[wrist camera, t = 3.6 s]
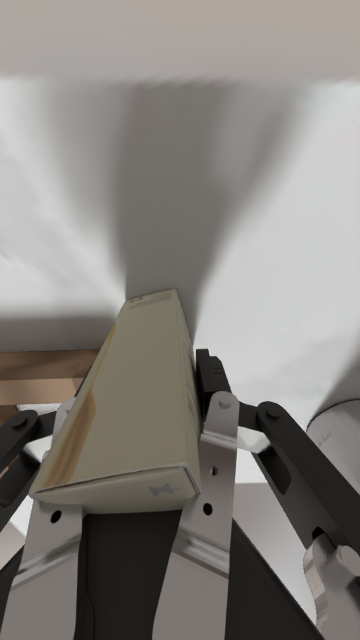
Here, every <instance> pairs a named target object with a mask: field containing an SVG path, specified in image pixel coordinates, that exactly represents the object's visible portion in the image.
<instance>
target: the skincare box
mask: <svg viewBox="0 0 360 640" xmlns="http://www.w3.org/2000/svg"><path fill="white" fill-rule="evenodd" d="M204 427H205V423H203V418H202V411H201V405H200V398H199V392H198V385H197V378H196V365H195V359H194V352H193V347H192V343H191V338H190V334H189V331H188V327H187V323H186V320H185V316H184V313H183V310H182V306H181V303H180V300H179V297H178V294H177V291H176V289H171V290H167V291H162V292H158V293H153V294H149V295H145V296H141V297H138V298H135V299H131V300H128V301H125V302H124V304H123V306H122V308H121V310H120V312H119V314H118V316H117V318H116V320H115V322H114V324H113V326H112V328H111V330H110V332H109V334H108V336H107V338H106V340H105V342H104V344H103V346H102V348H101V350H100V352H99V354H98V356H97V358H96V360H95V362H94V364H93V366H92V368H91V369H90V371H89V373H88V375H87V377H86V379H85V381H84V383H83V385H82V387H81V389H80V391H79V393H78V395H77V397H76V399H75V401H74V403H73V405H72V407H71V409H70V411H69V413H68V415H67V417H66V419H65V421H64V423H63V425H62V427H61V429H60V431H59V433H58V435H57V437H56V439H55V441H54V443H53V445H52V447H51V449H50V451H49V453H48V455H47V457H46V459H45V461H44V463H43V465H42V467H41V468H40V470H39V472H38V474H37V476H36V478H35V480H34V482H33V484H32V485H31V488H30V490H29V493H28V495H29V496H30V498H32V499H34V500H35V501H37V502H40V501H44V502H47V503H55V504H82V505H83V507H84V508H85V510H86V512H87V514H108V513H136V512H155V511H170V510H179V509H183V506H184V502H185V498H191V497H193V496H194V495H195V494H196V493H201V492H202V488H201V477H200V467H199V457H198V445H199V441H200V437H201V434H202V433H203V431H204Z"/></svg>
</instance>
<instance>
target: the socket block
mask: <svg viewBox="0 0 360 640" xmlns="http://www.w3.org/2000/svg"><path fill="white" fill-rule="evenodd" d="M99 352H100V350H72V351H39V352H6V353H0V427H1V426H2V425H3V424H4V423H5V422H6V421H7V420H8V419H9V418H11V417H12V416H14V415H15V414H17V413H19V411H18V409H17V408H16V406H15V405H21V404H49V403H63V402H65V401H66V400H68V399H70V398H73V397H74V395H75V393H76V392H77V390H78V388H79V386H80V384H81V383H82V381H83V379H84V378H85V375H86V374H87V372H88V370H89V368H90V366H91V365H92V364H93V363H94V362H95V360H96V358H97V356H98V354H99ZM16 459H17V457H15V458H14V459H13V460H12V461H11V463H10V464H9V465H8V466H7V467H6V468H5V469H4V471H3V472H2V473H1V474H0V478H1V477H2V476H3V475H4V473H5V472H6V471H7V470H8V469H9V468H10V466H11V465H12V464H13V463H14V462H15V461H16Z"/></svg>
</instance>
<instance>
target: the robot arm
mask: <svg viewBox="0 0 360 640" xmlns="http://www.w3.org/2000/svg"><path fill="white" fill-rule="evenodd" d="M93 364H94V363H93ZM93 364H92V365H91V366H90V368H89V370H88V372H87V374H86V375H85V378H84V379H83V381H82V383H81V384H80V386H79V388H78V390H77V392H76V393H75V395H74V397H73V398H70V399H68V400H66V401H65V402H63V403H62V404H61V405H60V406H59V408H58V410H57V411H54V412H51V413H47V414H44V415H41V416H39V415H38V413H37V412H36V411H34V410H25V411H22V412H19V413H17V414H15V415H14V416H12V417H11V418H9V419H8V420H7V421H6V422H5V423H4V424H3V425H2V426H1V427H0V474H1V473H2V472H3V471H4V469H5V468H6V467H7V466H8V465H9V464H10V463H11V461H12V460H13V459H14V458H15V457H17V459H16V461H15V462H14V463H13V464H12V465H11V466H10V468H9V469H8V470H7V471H6V472H5V473H4V475H3V476H2V477H1V478H0V532H1V531H2V529H3V528H4V526H5V525H6V524H7V522H8V521H9V520H10V518H11V517H12V515H13V514H14V513H15V511H16V510H17V508H18V507H19V506H20V504H21V503H22V501H23V500H24V499H25V497H26V496H27V495H28V493H29V490H30V488H31V485H32V484H33V482H34V480H35V478H36V476H37V474H38V472H39V470H40V468H41V467H42V465H43V463H44V461H45V459H46V457H47V455H48V453H49V451H50V449H51V447H52V445H53V443H54V441H55V439H56V437H57V435H58V433H59V431H60V429H61V427H62V425H63V423H64V421H65V419H66V417H67V415H68V413H69V411H70V409H71V407H72V405H73V403H74V401H75V399H76V397H77V395H78V393H79V391H80V389H81V387H82V385H83V383H84V381H85V379H86V377H87V375H88V373H89V371H90V369H91V368H92V366H93ZM196 378H197V385H198V392H199V398H200V405H201V411H202V418H203V423H205V427H204V431H203V433H202V434H201V437H200V441H199V445H198V457H199V467H200V477H201V488H202V492H201V493H196V494H195V495H194V496H193V497H191V498H185V502H184V506H183V509H179V510H170V511H155V512H136V513H108V514H87V512H86V510H85V508H84V507H83V505H82V504H55V503H47V502H44V501H40V502H37V501H35V500H34V501H33V506H32V511H31V516H30V521H29V526H28V531H27V536H26V541H25V544H24V545H23V546H22V548H21V549H20V550H19V551H18V552H17V553H16V554H15V555H14V556H13V557H12V558H11V560H9V561H8V563H7V564H6V565H5V566H4V567H3V568H2V569H1V570H0V640H360V400H355V401H349V402H345V403H342V404H339V405H336V406H334V407H332V408H330V409H328V410H326V411H325V412H323V413H322V414H320V415H319V416H318V417H317V418H315V420H314V421H313V422H312V423H311V424H310V426H309V428H308V430H307V434H306V433H305V432H304V431H303V430H302V428H301V427H300V426H299V425H298V424H297V423H296V422H295V420H294V419H293V418H292V417H291V416H290V415H289V414H288V412H287V411H286V410H285V409H284V408H283V407H282V406H280V405H279V404H277V403H274V402H270V401H265V402H262V403H260V404H259V405H258V407H256V406H251V405H247V404H244V403H242V402H240V401H239V400H238V399H237V397H236V396H235V395H233V394H232V392H231V389H230V386H229V383H228V380H227V377H226V374H225V371H224V369H223V365H222V362H221V361H220V360H219V359H218V358H217V357H216V356H211V357H210V355H209V351H208V349H196ZM237 448H241V449H244V450H247V451H250V452H251V454H252V455H253V457H254V459H255V461H256V462H257V464H258V466H259V468H260V469H261V471H262V473H263V475H264V476H265V478H266V480H267V482H268V484H269V485H270V487H271V489H272V490H273V492H274V494H275V496H276V498H277V499H278V501H279V503H280V505H281V506H282V508H283V510H284V512H285V513H286V515H287V517H288V518H289V520H290V522H291V524H292V526H293V528H294V529H295V531H296V533H297V534H298V536H299V538H300V540H301V542H302V543H303V545H304V547H305V548H306V552H305V554H304V558H303V569H304V574H305V577H306V581H307V583H308V585H309V587H310V590H311V592H312V595H313V598H314V602H315V606H316V614H317V621H316V626H315V625H314V624H313V622H312V621H311V620H310V619H309V617H308V616H307V614H306V613H305V612H304V610H303V609H302V608H301V607H300V605H299V604H298V603H297V601H296V600H295V599H294V597H293V596H292V595H291V593H290V592H289V591H288V589H287V588H286V587H285V585H284V584H283V583H282V581H281V580H280V579H279V578H278V576H277V575H276V574H275V572H274V571H273V570H272V568H271V567H270V566H269V564H268V563H267V562H266V560H265V559H264V558H263V556H262V555H261V554H260V552H259V551H258V550H257V549H256V547H255V546H254V545H253V543H252V542H251V541H250V539H249V538H248V537H247V535H246V534H245V533H244V531H243V530H242V529H241V528H240V526H239V525H238V524H237V522H236V521H235V520H234V518H233V517H232V512H233V499H234V485H235V471H236V458H237Z"/></svg>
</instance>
